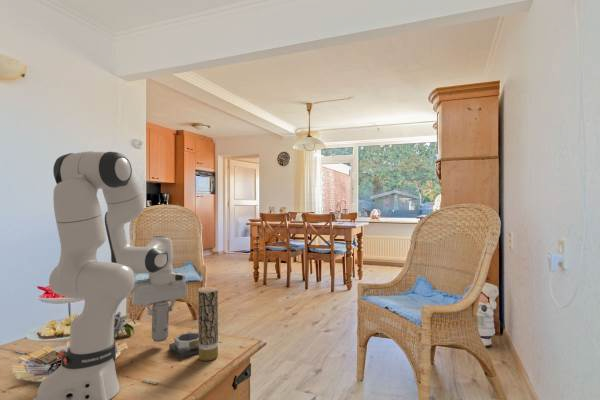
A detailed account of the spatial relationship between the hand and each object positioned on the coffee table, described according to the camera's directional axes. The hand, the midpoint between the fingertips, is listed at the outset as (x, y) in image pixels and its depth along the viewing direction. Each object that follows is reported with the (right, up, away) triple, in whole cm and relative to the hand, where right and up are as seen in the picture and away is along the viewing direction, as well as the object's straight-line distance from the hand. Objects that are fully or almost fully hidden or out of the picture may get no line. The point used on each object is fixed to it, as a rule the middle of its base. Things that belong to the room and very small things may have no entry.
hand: (160, 312), depth 134 cm
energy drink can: (0, -11, 0) cm, 11 cm away
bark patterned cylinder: (+21, -13, -9) cm, 27 cm away
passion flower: (-23, -14, +12) cm, 29 cm away
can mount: (+12, -13, -3) cm, 18 cm away
